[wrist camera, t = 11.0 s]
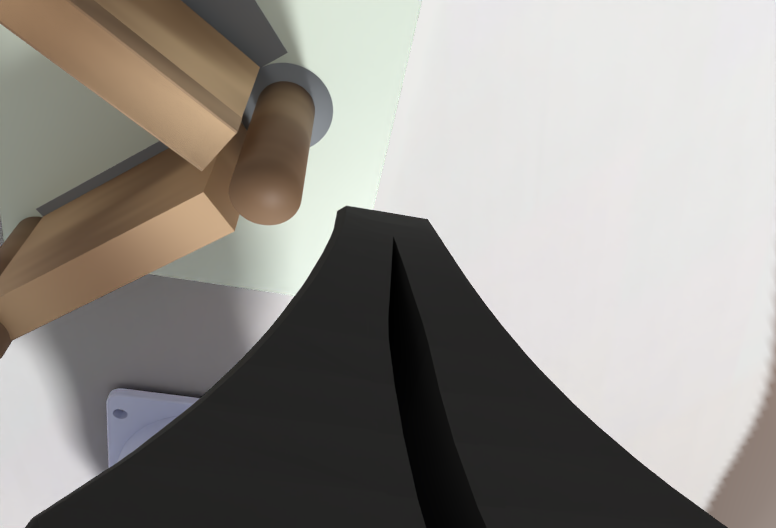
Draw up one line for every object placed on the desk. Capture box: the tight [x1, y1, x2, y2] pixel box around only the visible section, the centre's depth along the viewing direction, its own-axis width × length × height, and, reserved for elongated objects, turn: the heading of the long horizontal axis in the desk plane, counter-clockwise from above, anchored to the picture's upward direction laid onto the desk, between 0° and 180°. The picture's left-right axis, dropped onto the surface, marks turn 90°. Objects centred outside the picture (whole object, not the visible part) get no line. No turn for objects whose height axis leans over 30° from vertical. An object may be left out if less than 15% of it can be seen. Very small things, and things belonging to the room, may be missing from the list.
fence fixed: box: [0, 81, 315, 359], centre depth 18 cm, size 2×10×5 cm, turn 118°
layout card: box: [0, 0, 422, 296], centre depth 18 cm, size 16×11×1 cm
